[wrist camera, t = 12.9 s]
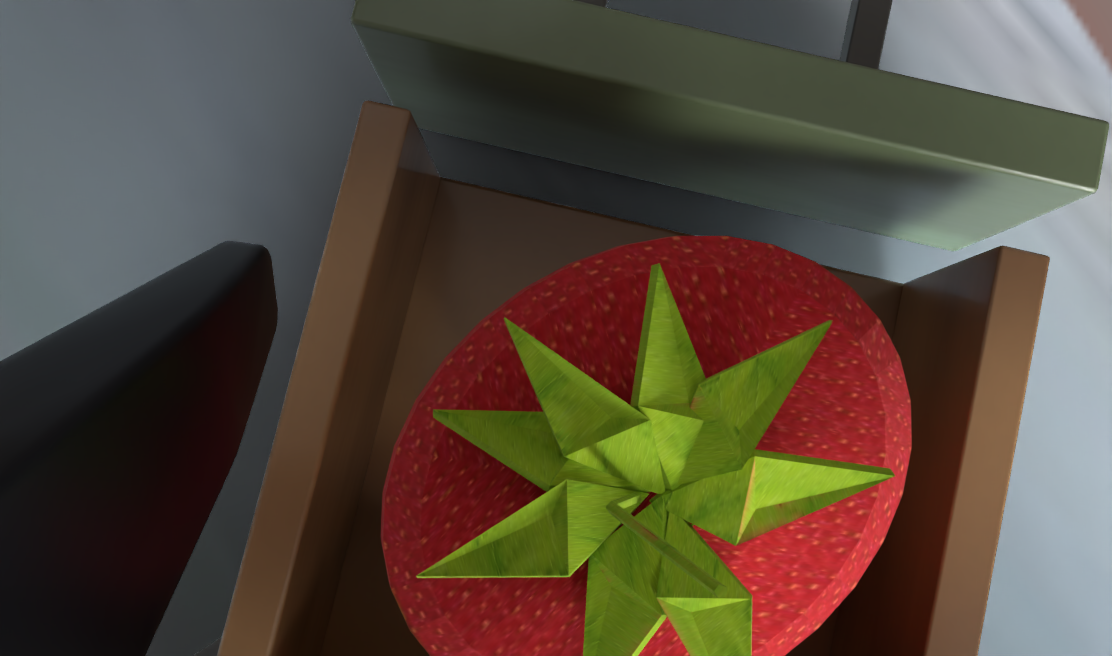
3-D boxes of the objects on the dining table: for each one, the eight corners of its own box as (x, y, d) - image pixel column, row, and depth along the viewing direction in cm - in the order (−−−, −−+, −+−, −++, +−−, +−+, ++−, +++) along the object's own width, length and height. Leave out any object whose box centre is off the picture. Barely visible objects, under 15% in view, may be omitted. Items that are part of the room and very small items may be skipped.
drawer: (461, -114, 20) (432, -295, 15) (1002, 8, 20) (1158, -134, 15) (225, 802, 18) (98, 950, 13) (821, 948, 18) (927, 1157, 13)
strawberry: (859, 474, 18) (1251, 546, 8) (533, 694, 17) (511, 1063, 7) (690, 223, 18) (856, -10, 8) (368, 431, 18) (138, 446, 8)
